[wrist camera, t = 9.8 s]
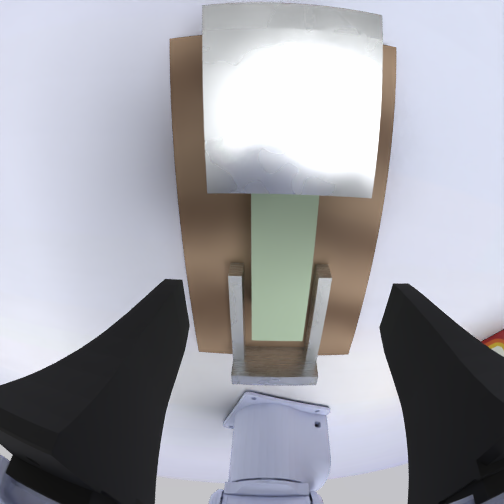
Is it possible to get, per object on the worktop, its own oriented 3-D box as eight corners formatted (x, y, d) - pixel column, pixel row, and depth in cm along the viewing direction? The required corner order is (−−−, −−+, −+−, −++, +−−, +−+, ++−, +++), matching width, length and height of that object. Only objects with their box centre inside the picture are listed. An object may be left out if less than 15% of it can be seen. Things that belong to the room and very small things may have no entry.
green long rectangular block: (298, 304, 21) (302, 341, 18) (254, 303, 21) (251, 340, 18) (312, 101, 14) (324, 103, 11) (254, 99, 14) (250, 100, 11)
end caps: (312, 355, 23) (319, 416, 18) (235, 353, 24) (228, 415, 19) (344, 38, 12) (381, 15, 7) (225, 33, 13) (202, 5, 8)
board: (346, 345, 24) (348, 354, 23) (201, 342, 25) (199, 351, 24) (389, 49, 13) (396, 47, 12) (174, 41, 14) (169, 38, 13)
